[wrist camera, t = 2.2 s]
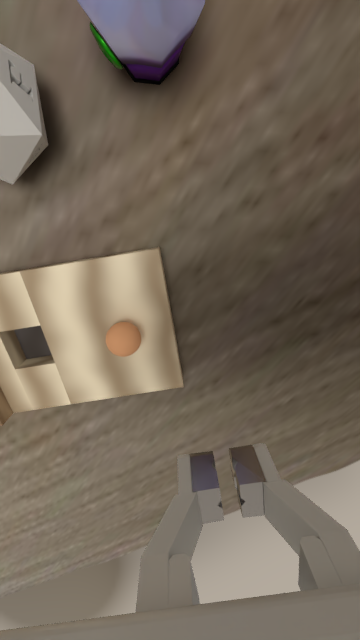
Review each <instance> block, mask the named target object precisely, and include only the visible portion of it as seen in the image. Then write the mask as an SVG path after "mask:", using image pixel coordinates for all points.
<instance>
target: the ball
mask: <svg viewBox="0 0 360 640" xmlns="http://www.w3.org/2000/svg"><path fill="white" fill-rule="evenodd" d="M140 344H141V334H140V331H139V330H138V328H137V327H136V326H135V325H133V324H131V323H129V322H119V323H116V324H114V325H113V326H112V327H111V328H110V329H109V330H108V332H107V334H106V345H107V347H108V349H109V350H110V351H111V352H112V353H113V354H115V355H117V356H121V357H125V356H129V355H132V354H133V353H135V352H136V351H137V350H138V348H139V346H140Z"/></svg>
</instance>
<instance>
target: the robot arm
mask: <svg viewBox="0 0 360 640" xmlns="http://www.w3.org/2000/svg"><path fill="white" fill-rule="evenodd" d="M229 455H230V459H231V462H230V464H231V471H232V476H233V481H234V485H235V488H236V489H237V495H238V501H239V505H240V509H241V512H242V516H243V517H252V516H262V515H265V517H266V518H267V519H268V521H269V522H270V523H271V524H272V525H273V527H274V528H275V529H276V530H277V531H278V532H279V534H280V535H281V536H282V537H283V538H284V539H285V540H286V542H287V543H288V544H289V545H290V546H291V547H292V549H293V550H294V551H295V552H296V553H297V554H298V556H299V581H298V585H299V587H300V590H301V591H298V592H291V593H283V594H276V595H268V596H259V597H253V598H244V599H237V600H230V601H221V602H214V603H207V604H200V603H199V595H198V591H197V587H196V583H195V578H194V574H193V570H192V566H191V558H192V556H193V553H194V550H195V547H196V544H197V541H198V538H199V535H200V533H201V530H202V527H203V524H204V523H210V522H216V521H221V520H224V517H223V509H222V503H221V495H220V489H219V483H218V477H217V472H216V468H215V461H214V456H213V451H209V452H201V453H192V454H185V455H178V459H177V461H178V495H175V496H174V498H173V499H172V501H171V503H170V505H169V507H168V509H167V510H166V512H165V514H164V516H163V518H162V520H161V521H160V523H159V525H158V527H157V529H156V531H155V533H154V534H153V536H152V538H151V540H150V542H149V544H148V545H147V547H146V549H145V551H144V553H143V555H142V557H141V563H140V573H139V583H138V594H137V604H136V613H130V614H124V615H115V616H108V617H100V618H92V619H85V620H78V621H70V622H62V623H54V624H47V625H40V626H33V627H24V628H17V629H9V630H2V631H0V640H360V551H359V549H358V548H357V546H356V544H355V542H354V541H353V539H352V537H351V536H350V534H349V532H348V530H347V529H345V528H344V527H343V526H342V525H341V524H339V523H338V522H337V521H336V520H334V519H333V518H332V517H331V516H329V515H328V514H327V513H326V512H324V511H323V510H322V509H321V508H320V507H318V506H317V505H316V504H315V503H313V502H312V501H311V500H310V499H308V498H307V497H306V496H305V495H303V494H302V493H301V492H300V491H299V490H297V489H296V488H294V486H293V485H291V484H290V483H289V482H288V481H286V480H281V478H280V476H279V474H278V471H277V469H276V467H275V465H274V462H273V460H272V458H271V456H270V453H269V451H268V449H267V447H266V445H265V444H264V443H261V444H254V445H246V446H240V447H234V448H229Z"/></svg>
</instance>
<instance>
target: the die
mask: <svg viewBox="0 0 360 640" xmlns="http://www.w3.org/2000/svg"><path fill="white" fill-rule="evenodd" d="M47 146H48V141H47V135H46V130H45V124H44V119H43V113H42V108H41V102H40V96H39V91H38V85H37V80H36V74H35V69H34V65H33V64H32V63H30V62H29V61H27V60H26V59H24V58H22V57H21V56H19V55H18V54H16V53H15V52H13V51H11V50H10V49H8V48H7V47H5V46H4V45H2V44H0V179H1V180H3V181H5V182H8V183H10V184H14V183H15V182H16V180H17V179H18V178H19V177H20V176H21V175H22V174H23V173H24V171H25V170H26V169H27V168H28V167H29V166H30V165H31V164H32V163H33V161H34V160H35V159H36V158H37V157H38V156H39V155H40V154H41V153H42V151H43V150H44V149H45V148H46V147H47Z"/></svg>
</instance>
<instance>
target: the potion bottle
mask: <svg viewBox="0 0 360 640" xmlns="http://www.w3.org/2000/svg"><path fill="white" fill-rule="evenodd" d="M77 1H78V2H79V4H80V5H81V7H82V8H83V9H84V11H85V12H86V14H87V15H88V17H89V18H90V19H91V21H92V22H93V24H94V25H95V26H96V28H97V29H98V31H99V32H100V33H101V35H102V36H103V38H104V39H105V40H106V42H107V43H108V45H109V46H110V47H111V49H112V50H113V52H114V53H115V54H116V56H115V55H114V53H113V52H112V51H111V49H110V48H109V47H108V45H107V44H106V42H105V41H104V40H103V38H102V37H101V35H100V34H99V33H98V31H97V30H96V29H95V27H94V26H93V24H92V23H91V22H90V29H91V32H92V33H93V35H94V37H95V39H96V41H97V43H98V45H99V47H100V49H101V50H102V52H103V53H104V55H105V56H106V57H107V58H108V60H109V61H110V62H111V63H112V64H113V65H114V66H115V67H116V68H118V69H122V68H123V67H124V68H125V69H126V71H127V72H128V73H129V75H130V76H131V78H132V79H133V80H134V82H140V83H149V84H157V85H160V84H161V83H162V82H163V81H164V80H165V78H166V77H167V76H168V75H169V74H170V73H171V72H172V71H173V70H174V68H175V67H176V66H177V65H178V64H179V55H180V53H181V50H182V48H183V45H184V43H185V41H186V40H187V39H188V38H189V37H190V36H191V34H192V32H193V29H194V27H195V25H196V23H197V20H198V18H199V16H200V13H201V11H202V9H203V6H204V4H205V0H77ZM116 57H117V58H118V59H117V58H116ZM119 61H120V62H121V63H120V62H119ZM121 64H122V65H123V66H122V65H121Z"/></svg>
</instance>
